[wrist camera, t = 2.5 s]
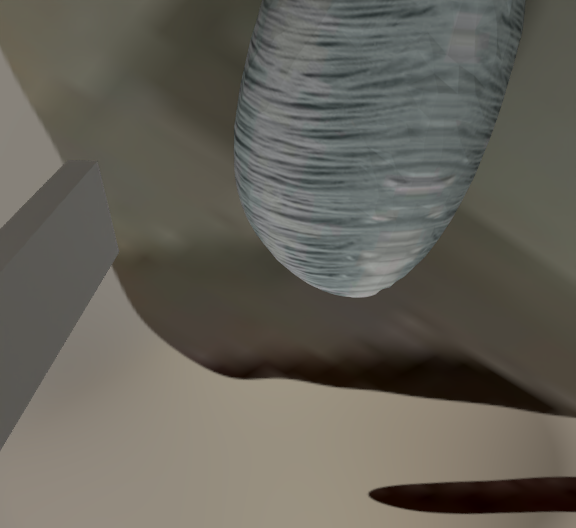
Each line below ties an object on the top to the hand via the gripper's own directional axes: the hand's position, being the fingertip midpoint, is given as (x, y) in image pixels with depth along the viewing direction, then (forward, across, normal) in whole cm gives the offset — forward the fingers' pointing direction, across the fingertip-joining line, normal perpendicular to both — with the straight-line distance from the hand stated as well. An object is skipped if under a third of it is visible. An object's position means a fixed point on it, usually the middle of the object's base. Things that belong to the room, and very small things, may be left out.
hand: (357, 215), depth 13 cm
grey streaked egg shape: (+11, 0, 0) cm, 11 cm away
